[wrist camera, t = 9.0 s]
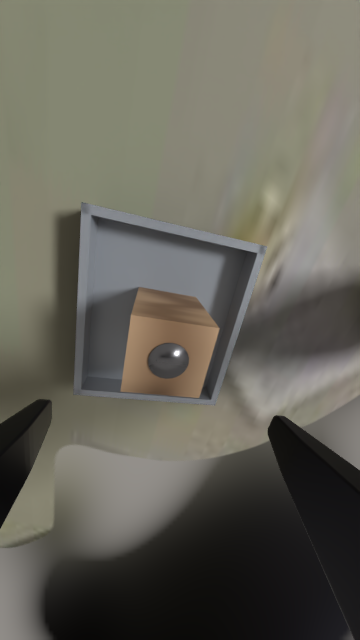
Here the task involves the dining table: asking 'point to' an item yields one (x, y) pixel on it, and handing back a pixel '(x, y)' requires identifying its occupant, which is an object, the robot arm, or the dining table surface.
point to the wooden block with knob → (168, 345)
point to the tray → (159, 274)
